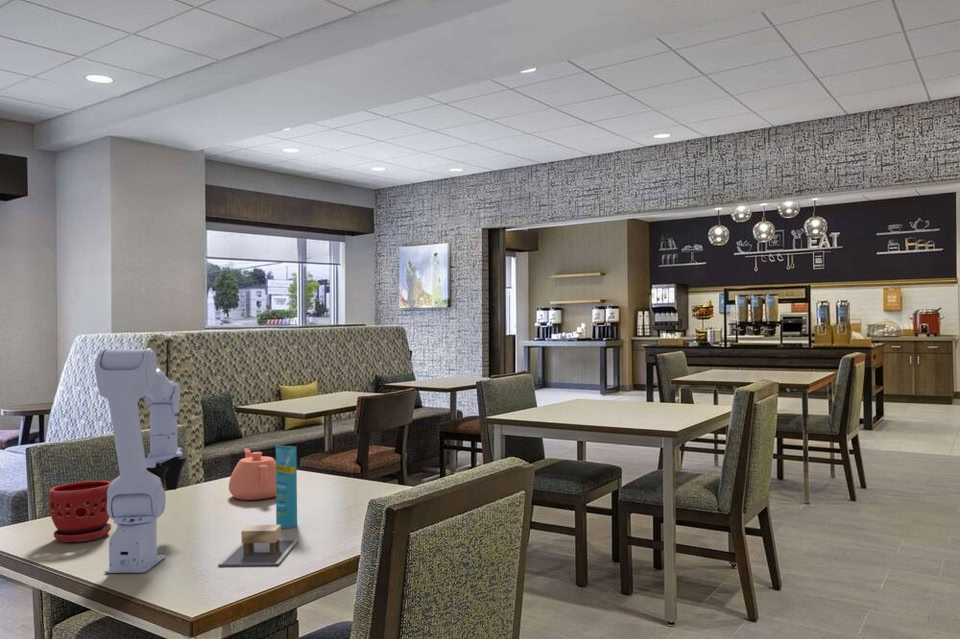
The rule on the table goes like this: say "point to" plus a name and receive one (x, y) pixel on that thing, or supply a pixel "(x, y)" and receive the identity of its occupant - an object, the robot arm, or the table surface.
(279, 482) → the tube
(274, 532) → the stool
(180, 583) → the table surface
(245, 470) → the teapot
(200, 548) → the table surface
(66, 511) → the plant pot
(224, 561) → the mat
